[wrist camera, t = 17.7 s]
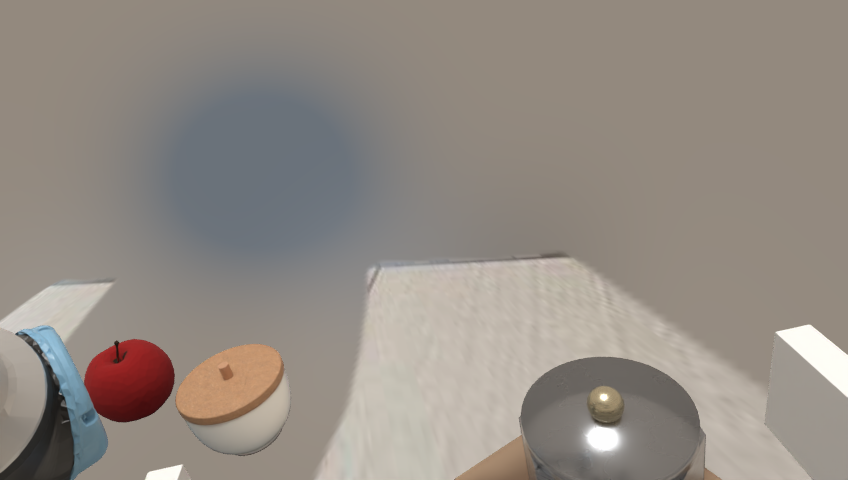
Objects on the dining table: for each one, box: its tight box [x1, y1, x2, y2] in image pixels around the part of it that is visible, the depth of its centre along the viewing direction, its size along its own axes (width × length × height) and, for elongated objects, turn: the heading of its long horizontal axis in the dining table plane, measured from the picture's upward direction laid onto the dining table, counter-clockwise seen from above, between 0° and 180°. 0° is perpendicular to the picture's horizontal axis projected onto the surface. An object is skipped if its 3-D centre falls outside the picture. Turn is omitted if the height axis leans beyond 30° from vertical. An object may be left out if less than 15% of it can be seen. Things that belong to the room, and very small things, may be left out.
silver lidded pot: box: [519, 357, 706, 480], centre depth 40 cm, size 11×11×12 cm
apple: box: [84, 339, 175, 422], centre depth 65 cm, size 9×9×10 cm
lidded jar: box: [175, 344, 291, 456], centre depth 58 cm, size 11×11×9 cm
